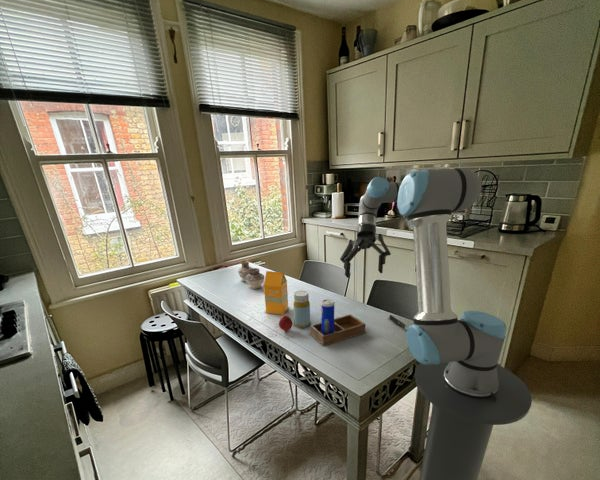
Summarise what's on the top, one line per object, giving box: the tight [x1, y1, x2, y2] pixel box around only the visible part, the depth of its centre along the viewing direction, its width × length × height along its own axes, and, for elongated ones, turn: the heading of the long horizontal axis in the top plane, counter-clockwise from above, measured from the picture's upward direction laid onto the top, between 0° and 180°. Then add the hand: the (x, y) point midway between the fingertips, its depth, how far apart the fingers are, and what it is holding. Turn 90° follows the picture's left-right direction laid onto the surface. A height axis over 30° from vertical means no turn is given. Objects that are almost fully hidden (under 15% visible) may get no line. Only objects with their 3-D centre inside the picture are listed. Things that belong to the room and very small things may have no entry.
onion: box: [278, 313, 294, 332], centre depth 135 cm, size 6×6×8 cm
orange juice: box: [263, 270, 289, 316], centre depth 151 cm, size 8×9×20 cm
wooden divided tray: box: [310, 314, 366, 347], centre depth 132 cm, size 11×20×4 cm, turn 117°
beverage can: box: [320, 299, 335, 335], centre depth 128 cm, size 5×5×15 cm
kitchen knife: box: [389, 314, 409, 331], centre depth 135 cm, size 18×1×2 cm, turn 21°
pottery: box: [237, 259, 265, 290], centre depth 188 cm, size 11×25×12 cm, turn 30°
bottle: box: [293, 290, 311, 328], centre depth 138 cm, size 7×7×15 cm
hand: (363, 274), depth 122 cm, fingers open, 13 cm apart
